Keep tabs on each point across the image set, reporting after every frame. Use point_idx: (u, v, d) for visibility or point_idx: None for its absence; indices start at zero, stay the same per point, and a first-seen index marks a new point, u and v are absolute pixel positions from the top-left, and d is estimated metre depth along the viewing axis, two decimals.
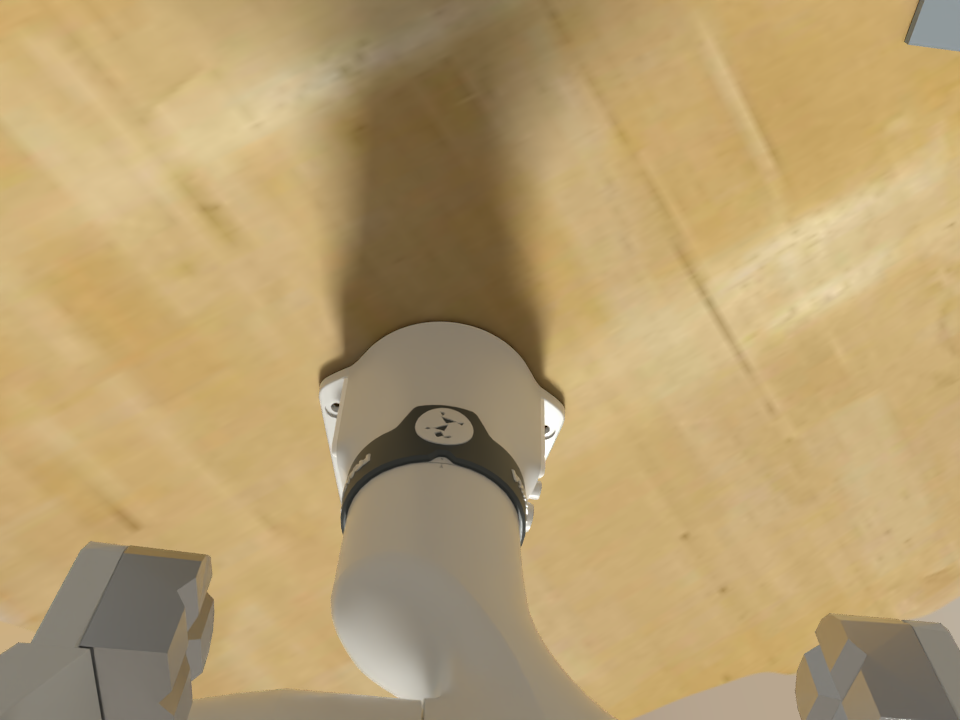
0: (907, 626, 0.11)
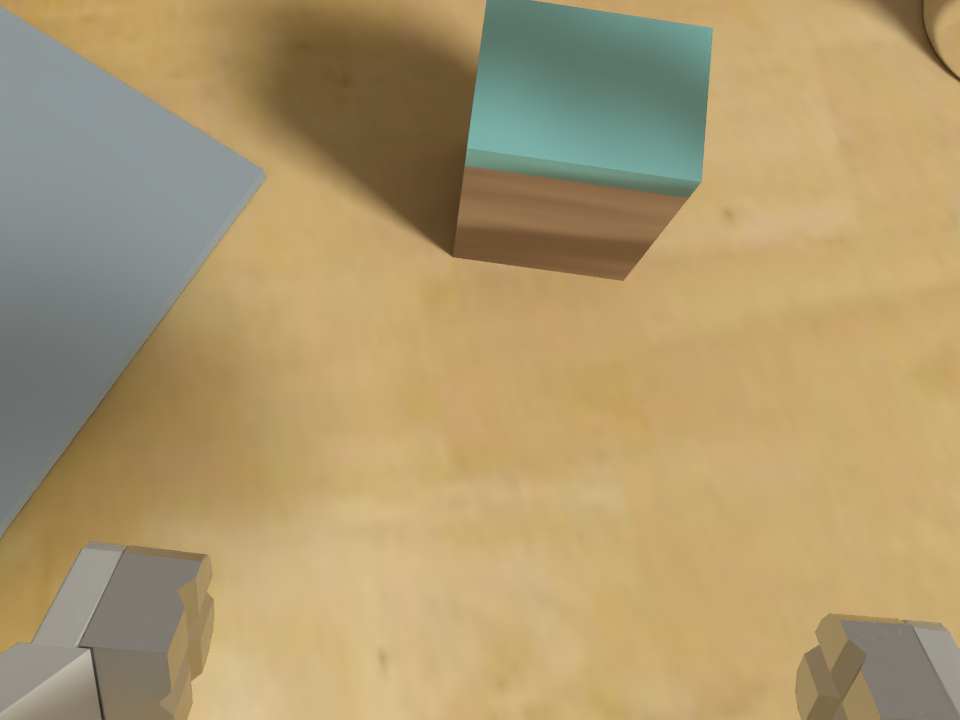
0: (907, 626, 0.11)
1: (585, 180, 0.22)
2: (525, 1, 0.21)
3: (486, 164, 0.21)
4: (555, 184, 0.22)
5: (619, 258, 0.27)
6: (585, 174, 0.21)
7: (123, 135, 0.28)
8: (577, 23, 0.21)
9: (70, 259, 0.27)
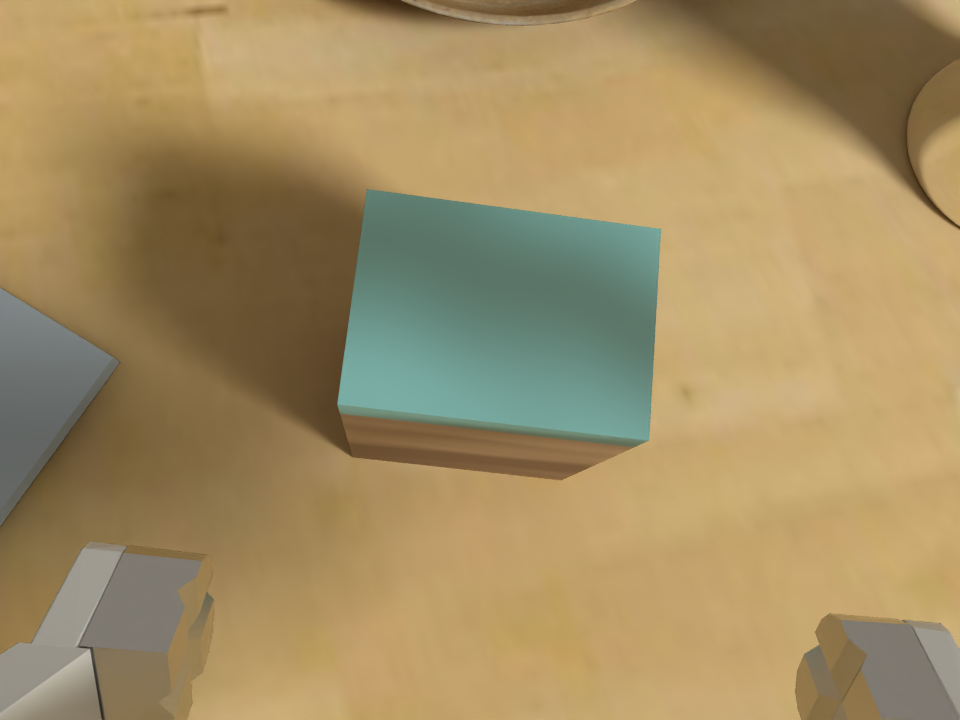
0: (907, 626, 0.11)
1: None
2: (417, 197, 0.16)
3: (367, 414, 0.16)
4: (461, 430, 0.17)
5: (553, 470, 0.22)
6: (497, 427, 0.16)
7: None
8: (486, 226, 0.16)
9: None
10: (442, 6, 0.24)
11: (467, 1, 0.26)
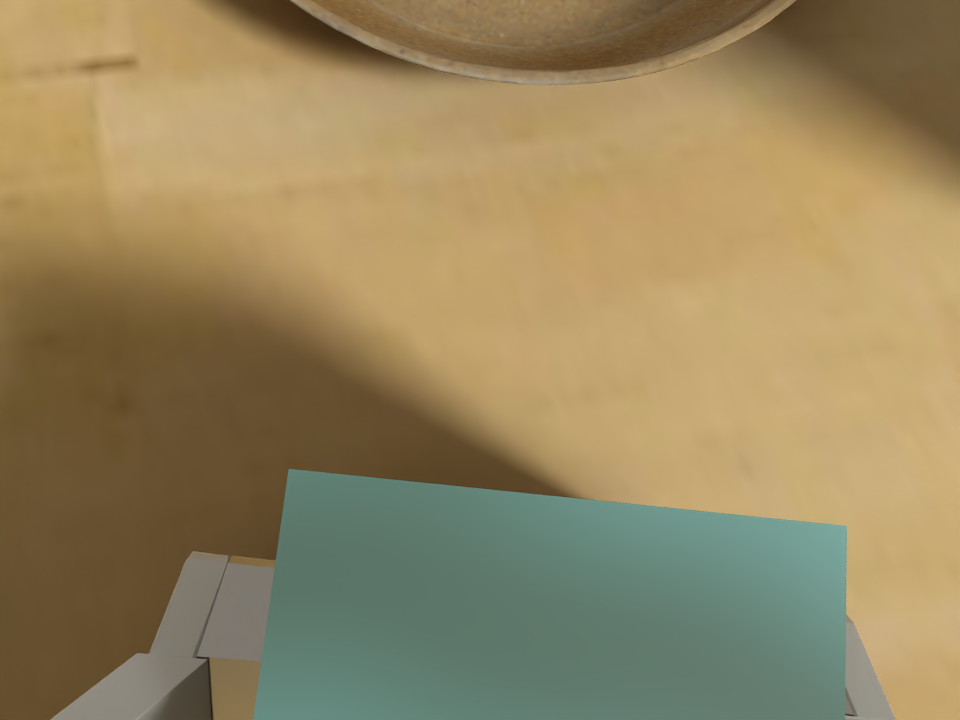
0: None
1: None
2: None
3: None
4: None
5: None
6: None
7: None
8: (517, 535, 0.09)
9: None
10: (443, 59, 0.16)
11: (480, 43, 0.18)
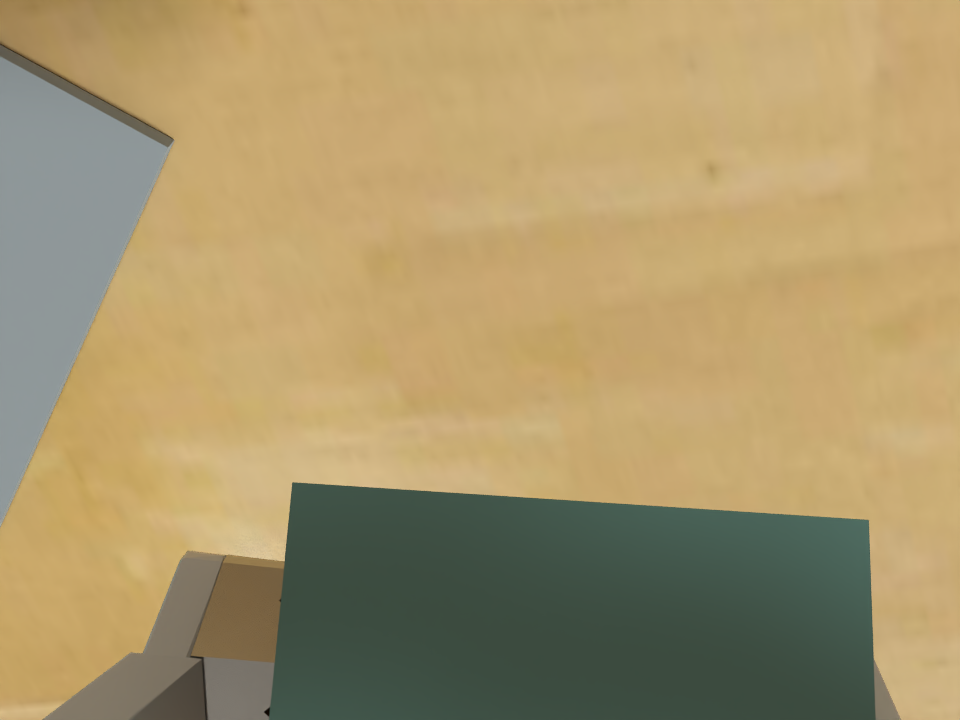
0: None
1: None
2: (396, 489, 0.08)
3: None
4: None
5: None
6: None
7: None
8: (535, 543, 0.08)
9: None
10: None
11: None
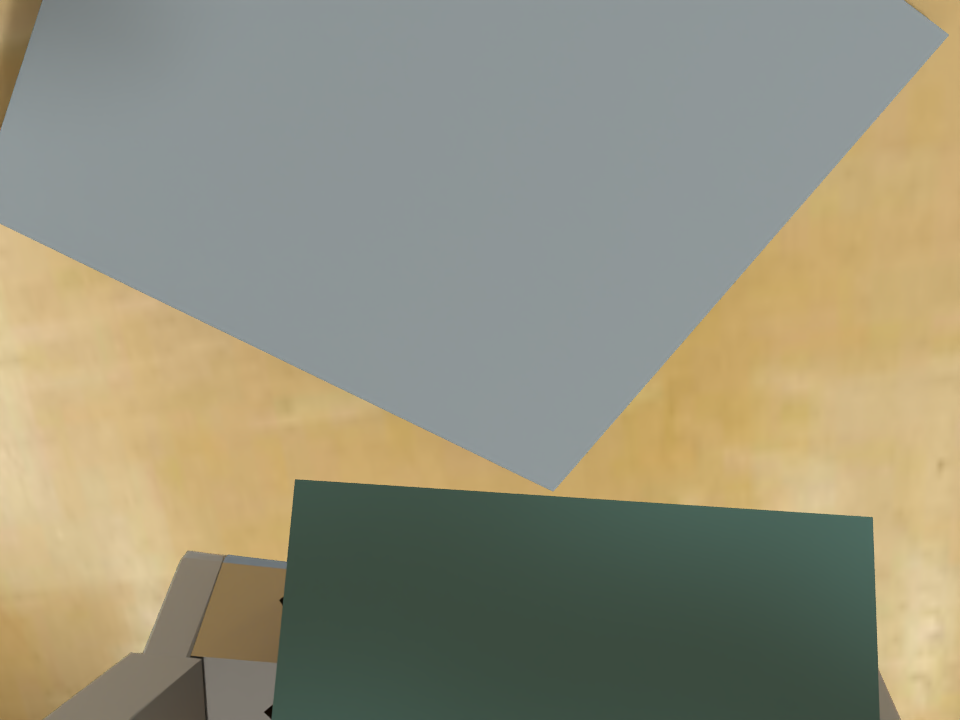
0: None
1: None
2: (398, 486, 0.08)
3: None
4: None
5: None
6: None
7: None
8: (539, 541, 0.08)
9: (714, 151, 0.24)
10: None
11: None
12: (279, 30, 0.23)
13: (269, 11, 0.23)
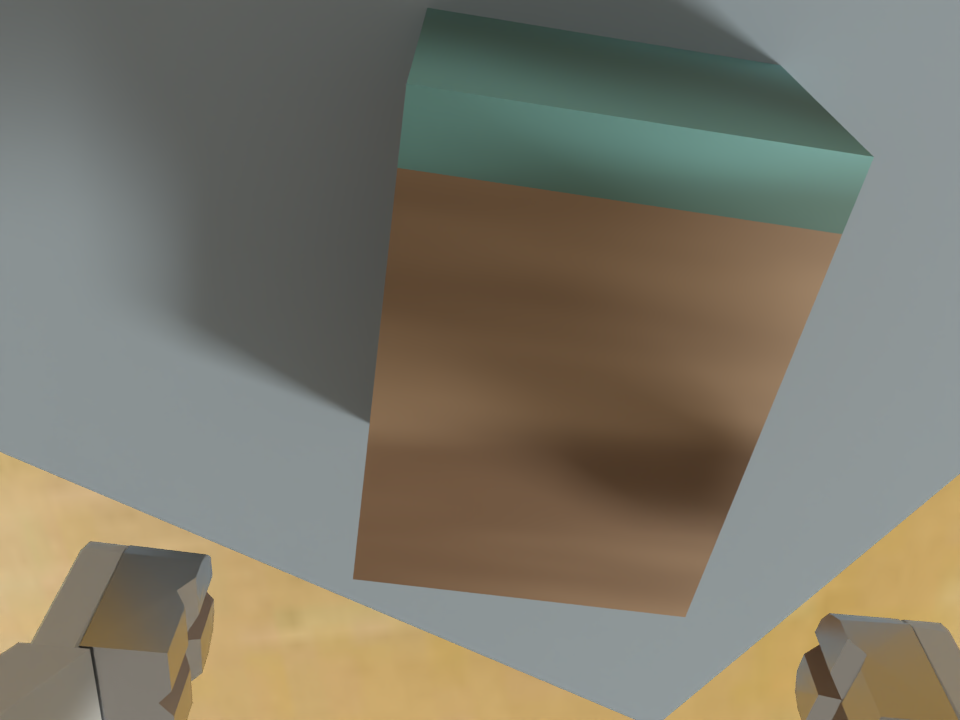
0: (907, 626, 0.11)
1: (638, 201, 0.11)
2: (487, 20, 0.13)
3: (442, 152, 0.10)
4: (578, 220, 0.11)
5: (684, 524, 0.14)
6: (643, 163, 0.11)
7: None
8: (575, 38, 0.13)
9: (947, 314, 0.16)
10: None
11: None
12: (292, 134, 0.14)
13: (277, 105, 0.14)
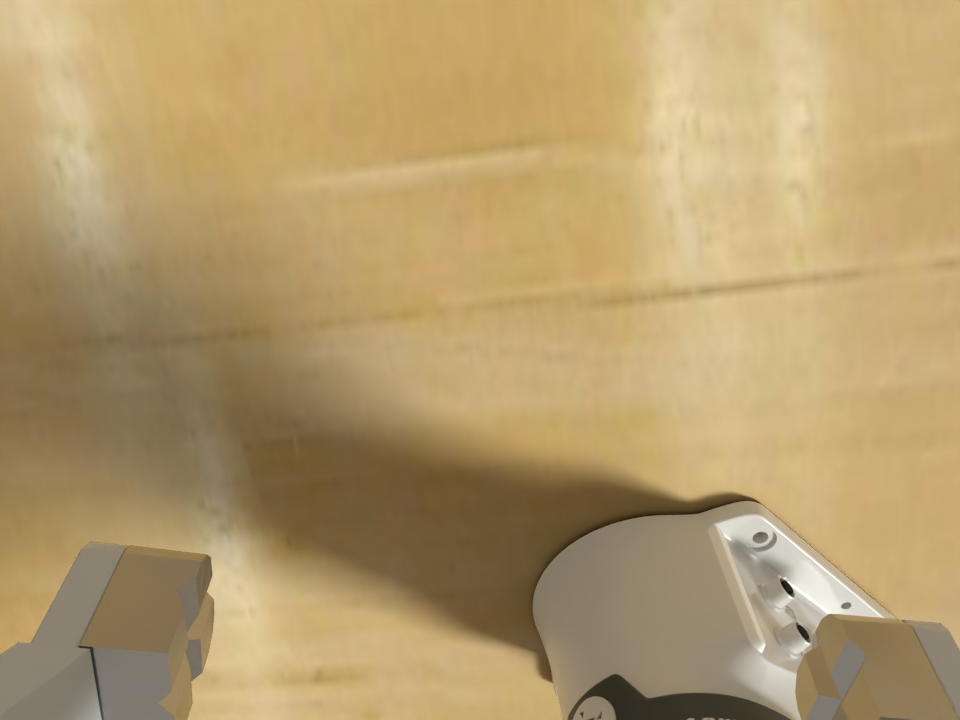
0: (907, 626, 0.11)
1: None
2: None
3: None
4: None
5: None
6: None
7: None
8: None
9: None
10: None
11: None
12: None
13: None
